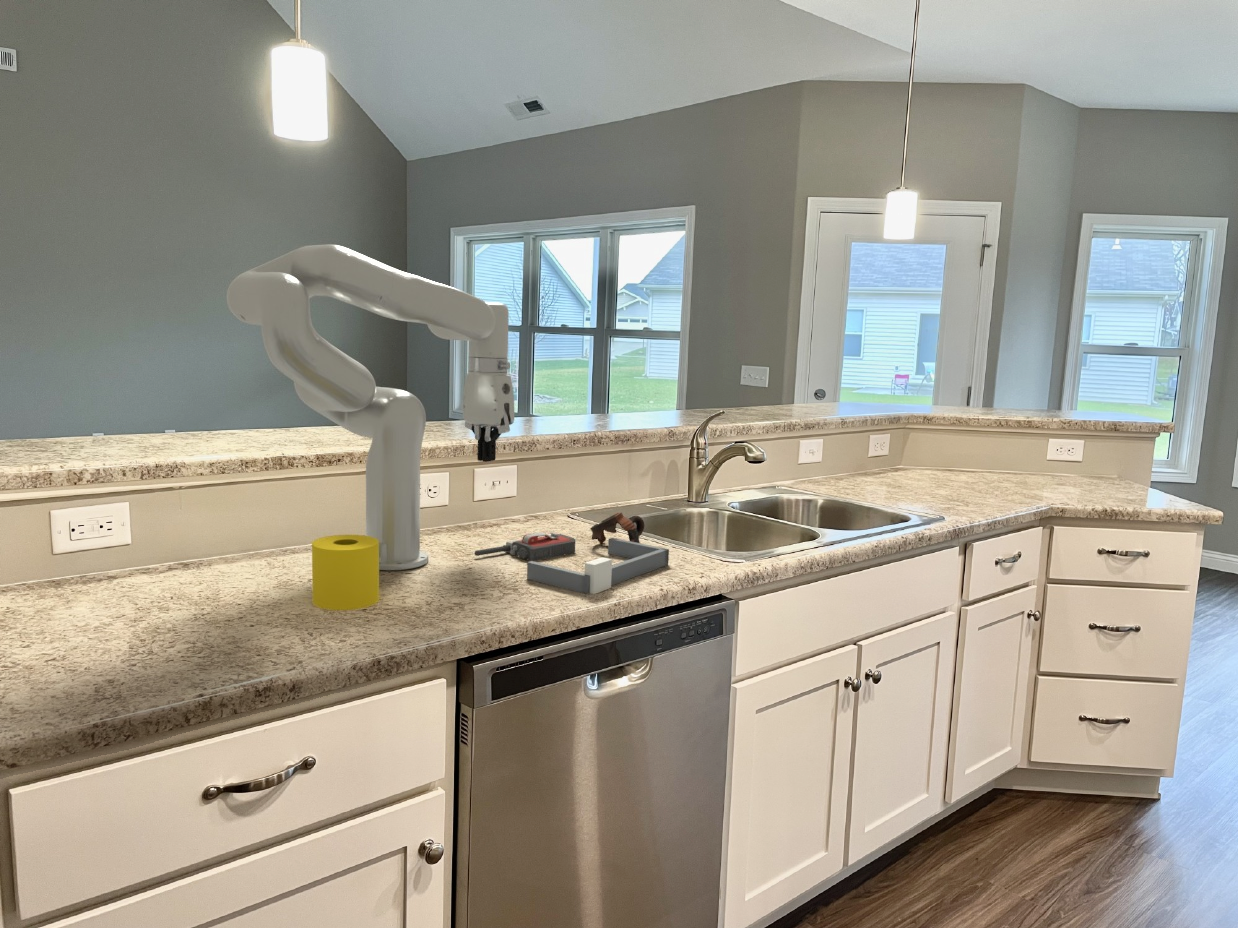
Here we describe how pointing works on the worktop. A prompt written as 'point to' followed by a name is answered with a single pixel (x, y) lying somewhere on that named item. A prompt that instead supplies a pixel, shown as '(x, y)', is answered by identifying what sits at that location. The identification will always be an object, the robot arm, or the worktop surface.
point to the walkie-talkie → (536, 546)
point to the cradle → (602, 568)
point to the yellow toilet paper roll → (345, 572)
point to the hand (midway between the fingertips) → (486, 460)
